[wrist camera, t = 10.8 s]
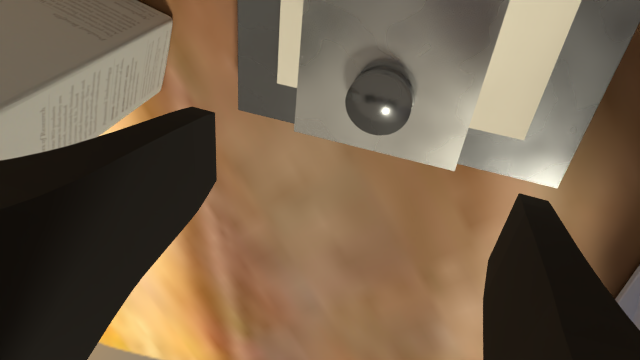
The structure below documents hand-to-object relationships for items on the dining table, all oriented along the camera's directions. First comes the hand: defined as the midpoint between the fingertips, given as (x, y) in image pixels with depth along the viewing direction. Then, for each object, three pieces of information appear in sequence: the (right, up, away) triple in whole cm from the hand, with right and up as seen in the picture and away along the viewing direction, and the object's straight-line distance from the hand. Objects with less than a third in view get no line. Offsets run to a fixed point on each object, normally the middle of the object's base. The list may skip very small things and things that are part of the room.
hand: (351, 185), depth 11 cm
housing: (+3, +7, +5) cm, 9 cm away
